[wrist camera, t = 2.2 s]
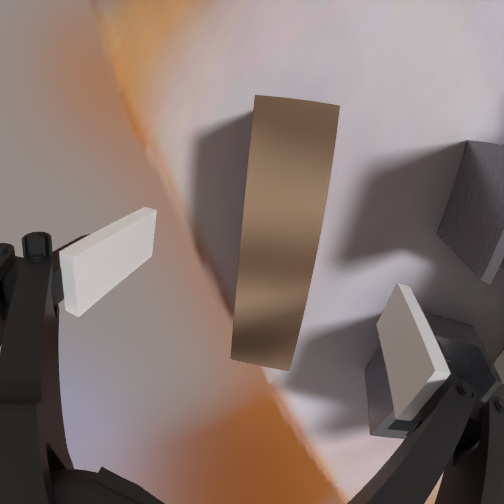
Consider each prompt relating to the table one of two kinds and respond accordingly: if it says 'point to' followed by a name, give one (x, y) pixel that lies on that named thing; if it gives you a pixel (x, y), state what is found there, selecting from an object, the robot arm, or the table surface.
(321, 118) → the rail
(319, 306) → the table surface
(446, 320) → the brackets
